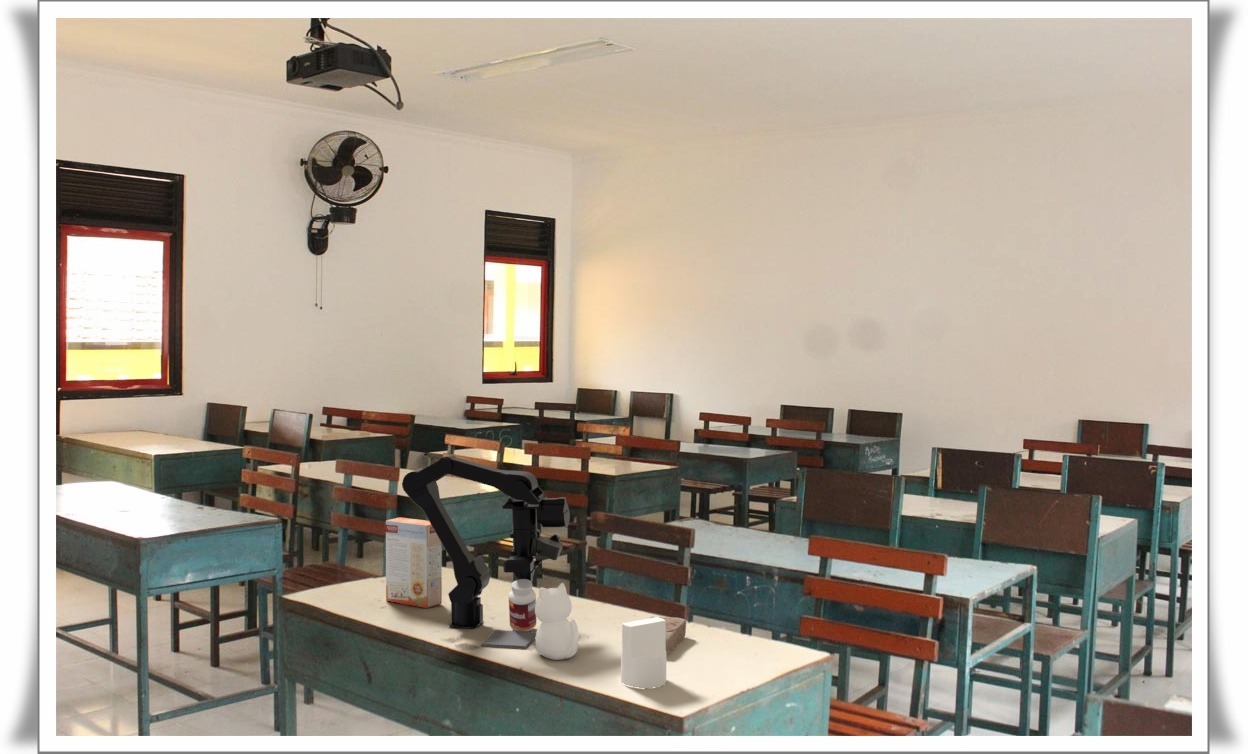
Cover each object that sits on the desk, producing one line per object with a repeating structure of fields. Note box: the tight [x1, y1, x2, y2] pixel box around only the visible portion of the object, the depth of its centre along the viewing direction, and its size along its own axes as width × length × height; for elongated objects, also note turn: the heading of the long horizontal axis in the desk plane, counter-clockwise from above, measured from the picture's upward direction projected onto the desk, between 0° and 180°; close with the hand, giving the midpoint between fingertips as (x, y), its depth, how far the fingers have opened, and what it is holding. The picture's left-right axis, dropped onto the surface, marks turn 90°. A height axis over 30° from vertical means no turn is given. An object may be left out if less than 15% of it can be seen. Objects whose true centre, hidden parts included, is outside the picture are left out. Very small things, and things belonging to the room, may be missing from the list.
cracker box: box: [385, 517, 443, 609], centre depth 283 cm, size 14×6×21 cm, turn 58°
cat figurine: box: [535, 582, 579, 661], centre depth 239 cm, size 9×12×15 cm
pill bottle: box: [508, 579, 537, 632], centre depth 258 cm, size 6×6×11 cm
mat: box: [480, 629, 537, 650], centre depth 251 cm, size 10×11×1 cm
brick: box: [650, 616, 687, 656], centre depth 248 cm, size 16×8×5 cm, turn 161°
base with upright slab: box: [620, 616, 667, 689], centre depth 223 cm, size 9×9×12 cm
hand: (527, 593), depth 261 cm, fingers closed
